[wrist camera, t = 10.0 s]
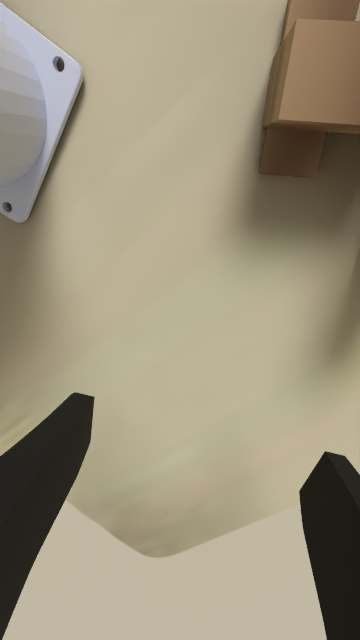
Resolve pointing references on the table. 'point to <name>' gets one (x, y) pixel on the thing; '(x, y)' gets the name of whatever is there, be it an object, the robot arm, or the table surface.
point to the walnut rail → (312, 85)
